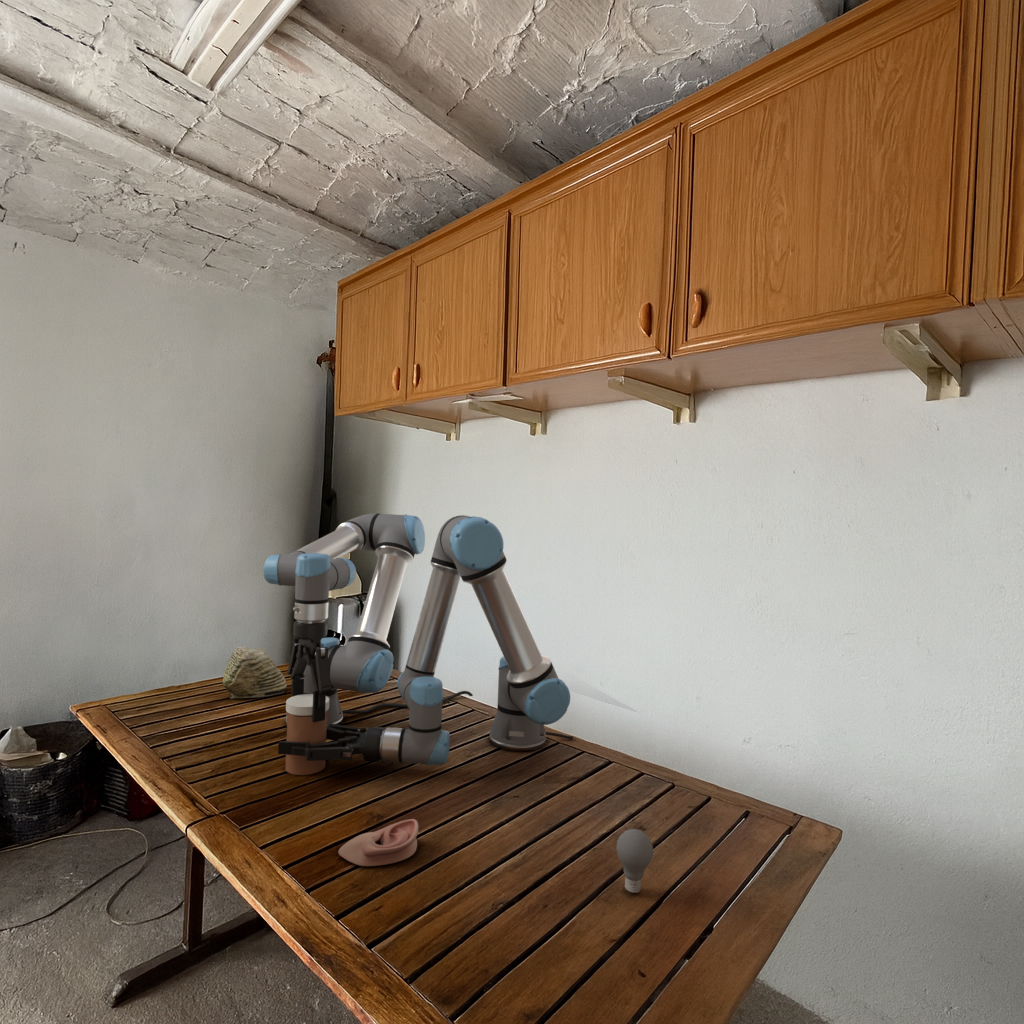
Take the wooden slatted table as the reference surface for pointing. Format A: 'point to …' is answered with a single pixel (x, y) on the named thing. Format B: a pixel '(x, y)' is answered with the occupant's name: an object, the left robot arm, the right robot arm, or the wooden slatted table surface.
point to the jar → (304, 732)
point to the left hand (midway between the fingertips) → (307, 713)
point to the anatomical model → (382, 845)
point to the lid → (302, 704)
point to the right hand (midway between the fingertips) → (287, 739)
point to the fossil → (252, 674)
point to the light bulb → (634, 857)
